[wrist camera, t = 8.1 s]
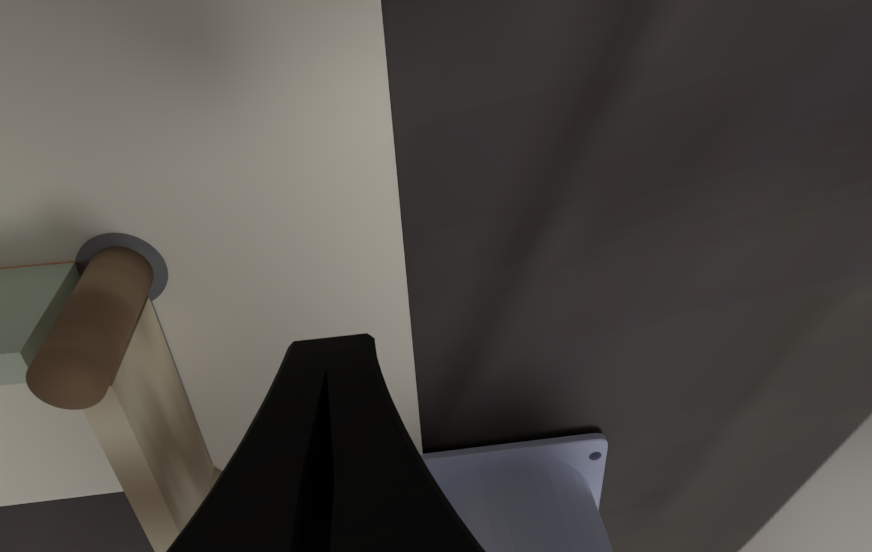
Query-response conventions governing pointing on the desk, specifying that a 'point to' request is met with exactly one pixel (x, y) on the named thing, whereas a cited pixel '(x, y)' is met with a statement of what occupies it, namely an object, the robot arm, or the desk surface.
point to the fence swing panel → (30, 313)
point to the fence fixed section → (127, 392)
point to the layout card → (202, 198)
